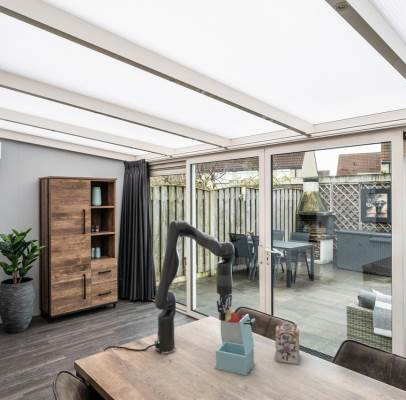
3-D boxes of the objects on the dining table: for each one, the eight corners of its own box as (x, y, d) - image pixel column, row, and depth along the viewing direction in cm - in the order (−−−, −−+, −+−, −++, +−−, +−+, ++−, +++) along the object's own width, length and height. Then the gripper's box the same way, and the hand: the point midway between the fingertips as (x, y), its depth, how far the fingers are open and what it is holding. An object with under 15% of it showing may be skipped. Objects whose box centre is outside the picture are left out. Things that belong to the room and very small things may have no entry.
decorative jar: (299, 355, 177) (299, 321, 178) (299, 365, 166) (298, 329, 167) (276, 352, 181) (276, 319, 182) (275, 361, 170) (274, 326, 171)
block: (218, 320, 157) (218, 310, 157) (222, 317, 161) (222, 308, 161) (227, 321, 155) (227, 312, 155) (231, 318, 159) (230, 309, 159)
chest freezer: (216, 368, 164) (215, 350, 164) (225, 358, 175) (225, 341, 176) (246, 375, 157) (245, 357, 157) (253, 364, 168) (253, 347, 168)
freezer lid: (239, 321, 159) (249, 321, 156) (247, 313, 170) (257, 313, 168) (245, 356, 157) (255, 356, 155) (252, 346, 168) (263, 346, 166)
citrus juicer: (252, 343, 193) (252, 309, 193) (241, 355, 178) (240, 318, 179) (228, 338, 201) (228, 305, 202) (215, 349, 187) (215, 313, 187)
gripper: (223, 279, 167) (223, 313, 166) (211, 285, 154) (211, 322, 154) (237, 281, 163) (237, 315, 163) (226, 287, 150) (226, 324, 150)
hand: (224, 318), depth 158 cm, fingers closed on block, 4 cm apart
